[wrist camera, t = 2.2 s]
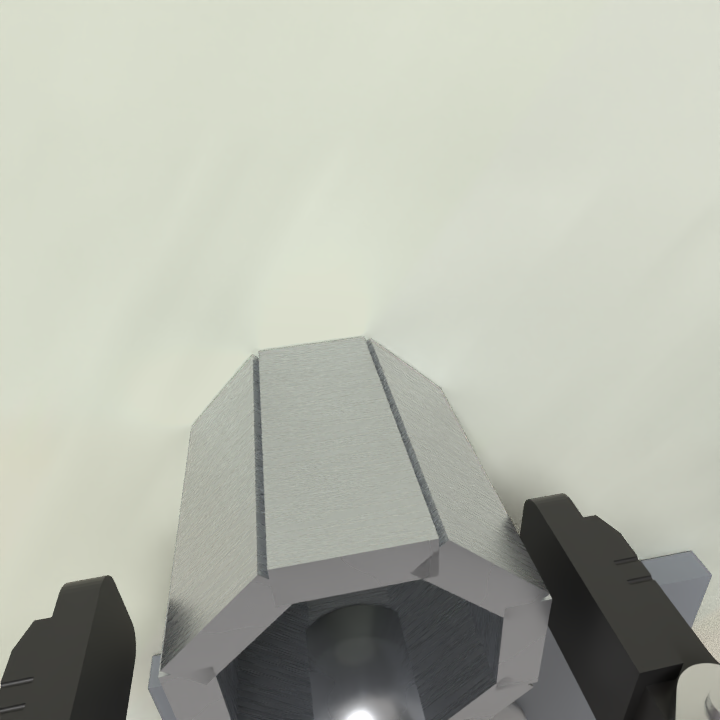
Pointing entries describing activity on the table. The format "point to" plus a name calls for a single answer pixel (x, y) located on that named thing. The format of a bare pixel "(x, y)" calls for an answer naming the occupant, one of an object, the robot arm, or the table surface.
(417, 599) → the grey octagonal hollow block
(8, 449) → the table surface
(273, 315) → the table surface
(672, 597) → the panel
